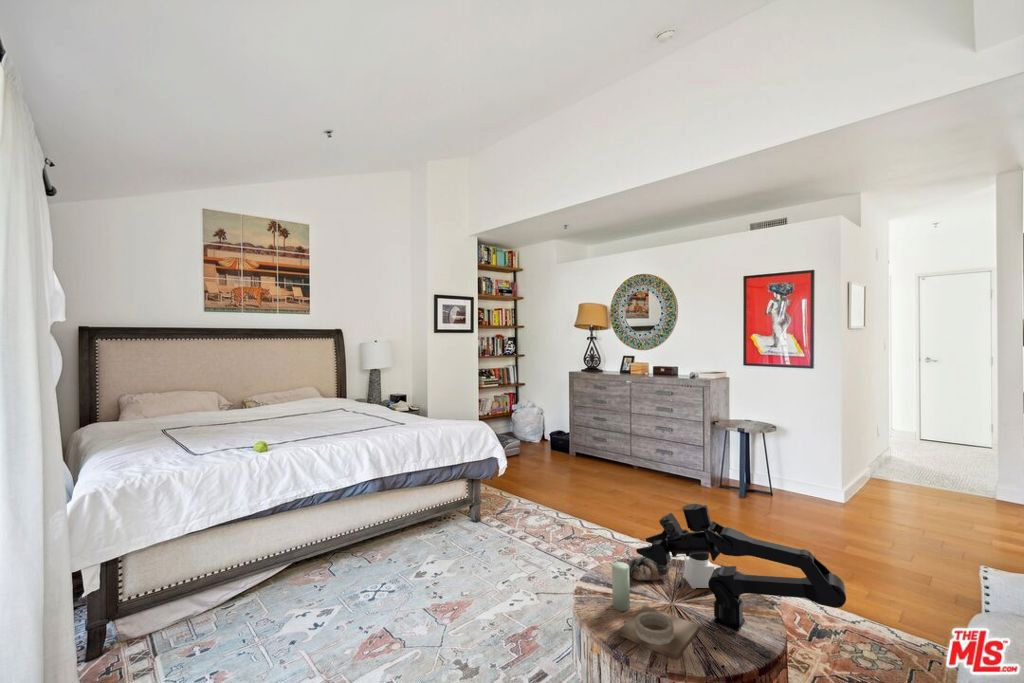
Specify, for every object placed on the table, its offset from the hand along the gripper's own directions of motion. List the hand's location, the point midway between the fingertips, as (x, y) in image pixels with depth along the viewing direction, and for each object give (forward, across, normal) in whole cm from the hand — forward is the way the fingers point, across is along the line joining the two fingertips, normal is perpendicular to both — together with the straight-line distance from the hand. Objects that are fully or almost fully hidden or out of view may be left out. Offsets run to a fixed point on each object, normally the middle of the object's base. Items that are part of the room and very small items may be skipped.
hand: (641, 545), depth 146 cm
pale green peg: (+8, +8, +14) cm, 18 cm away
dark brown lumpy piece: (+6, -12, +15) cm, 20 cm away
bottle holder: (-5, +15, +18) cm, 24 cm away
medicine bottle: (-8, -18, +19) cm, 27 cm away
